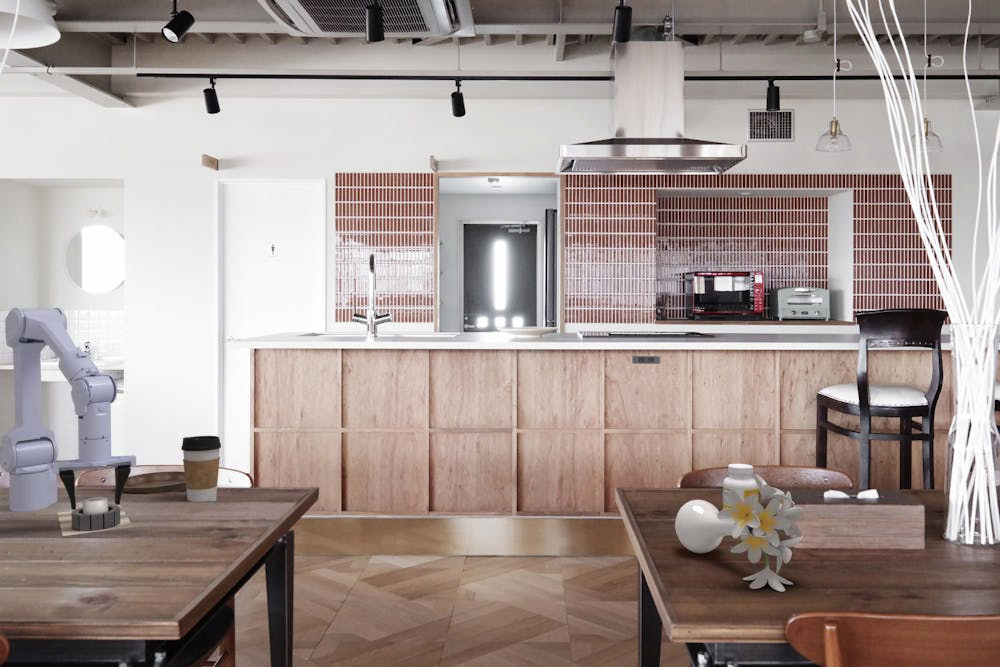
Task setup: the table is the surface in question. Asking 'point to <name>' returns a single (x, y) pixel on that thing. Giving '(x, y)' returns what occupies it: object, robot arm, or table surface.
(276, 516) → the table surface
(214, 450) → the coffee cup
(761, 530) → the flower vase
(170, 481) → the plant saucer
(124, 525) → the mount plate
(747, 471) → the supplement bottle
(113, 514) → the dark grey segmented ring
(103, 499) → the white cylinder
